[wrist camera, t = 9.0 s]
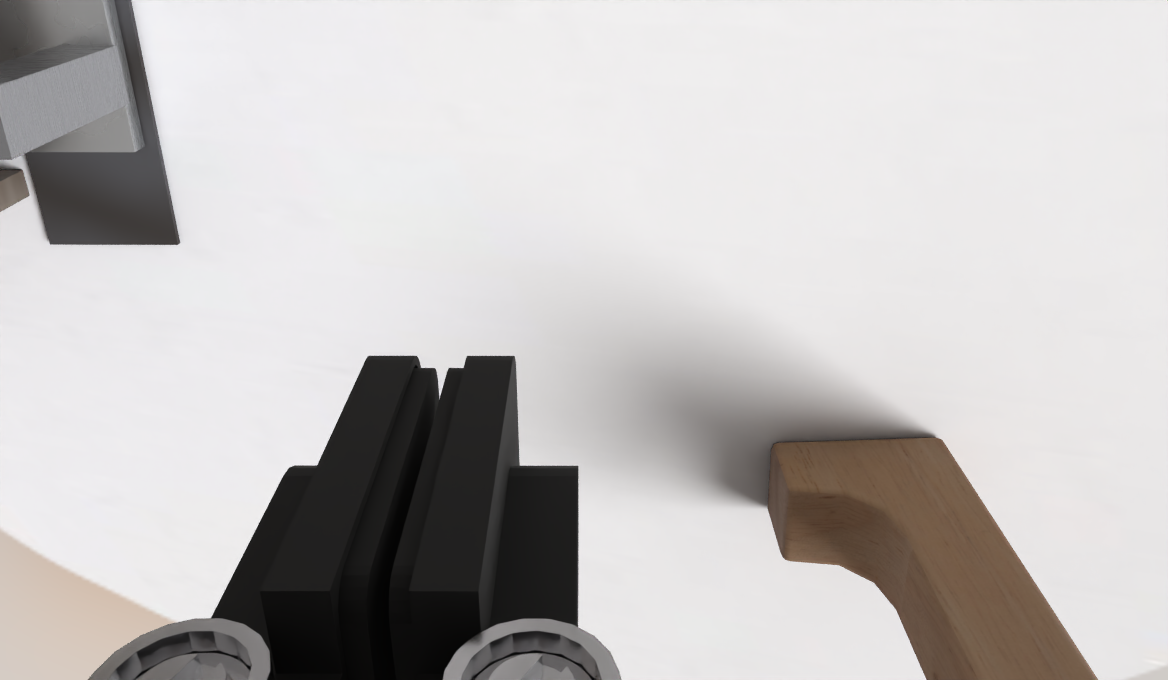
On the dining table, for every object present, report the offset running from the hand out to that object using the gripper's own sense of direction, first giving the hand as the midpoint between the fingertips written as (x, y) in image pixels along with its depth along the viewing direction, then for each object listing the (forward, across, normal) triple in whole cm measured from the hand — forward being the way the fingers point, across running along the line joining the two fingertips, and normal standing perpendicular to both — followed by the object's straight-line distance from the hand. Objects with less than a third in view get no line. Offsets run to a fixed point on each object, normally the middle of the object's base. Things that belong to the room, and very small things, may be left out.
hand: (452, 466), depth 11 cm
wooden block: (+32, -16, +22) cm, 42 cm away
